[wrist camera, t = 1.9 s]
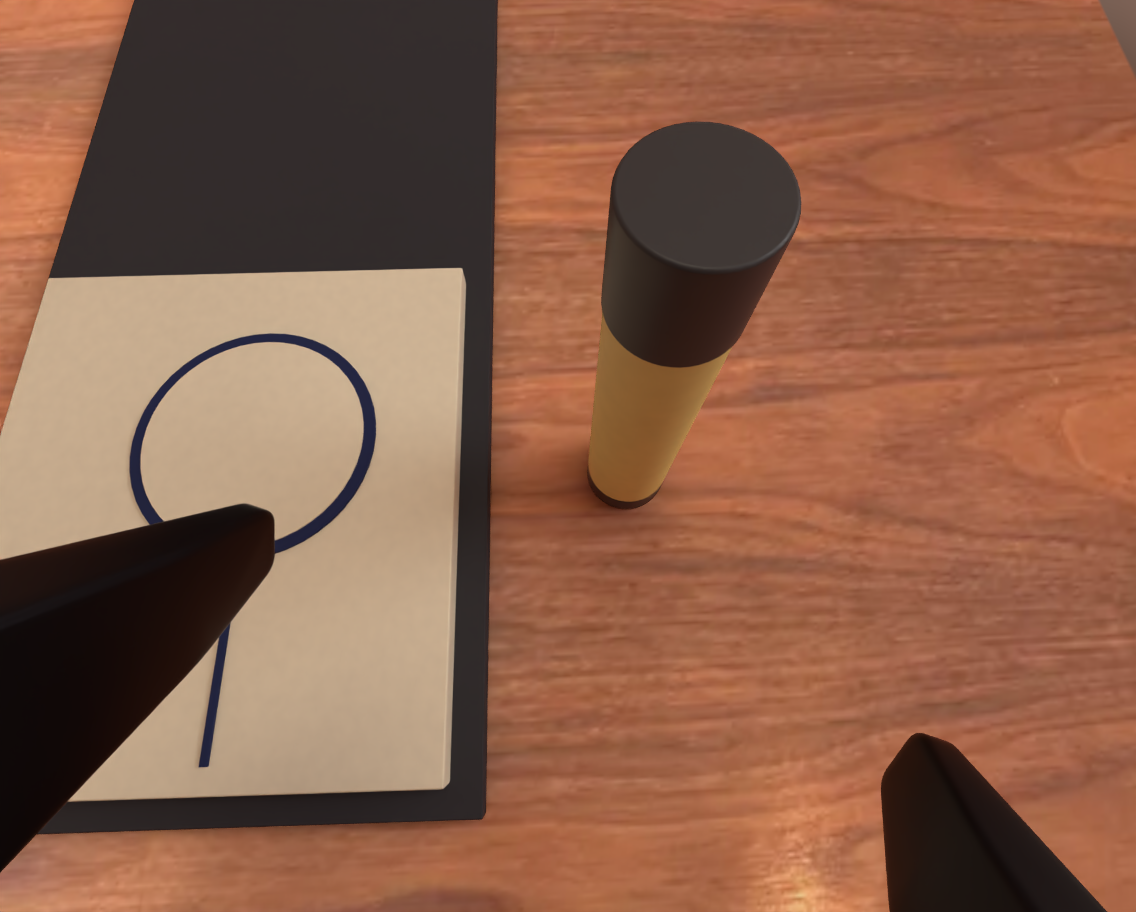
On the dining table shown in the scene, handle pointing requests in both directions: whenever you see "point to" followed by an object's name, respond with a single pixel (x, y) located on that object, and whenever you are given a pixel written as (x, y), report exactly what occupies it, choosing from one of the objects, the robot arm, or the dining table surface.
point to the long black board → (285, 398)
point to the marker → (679, 290)
